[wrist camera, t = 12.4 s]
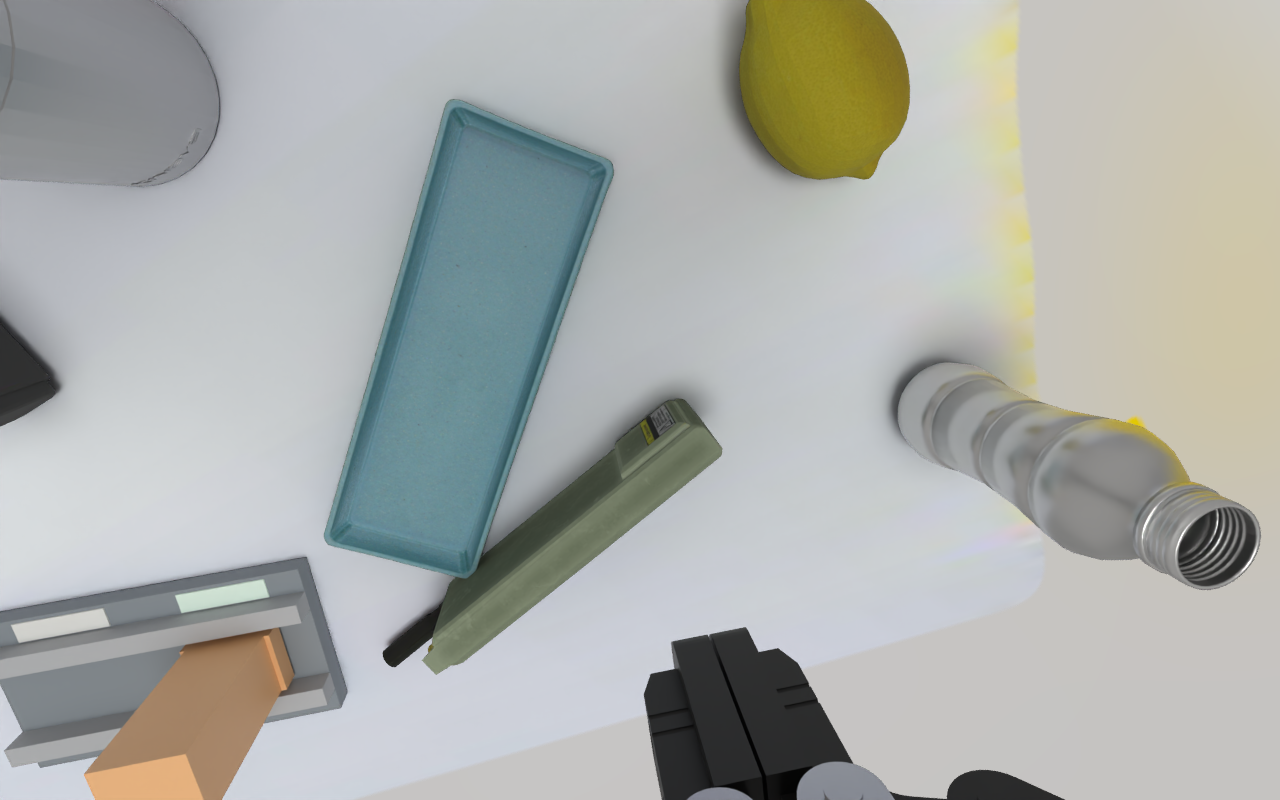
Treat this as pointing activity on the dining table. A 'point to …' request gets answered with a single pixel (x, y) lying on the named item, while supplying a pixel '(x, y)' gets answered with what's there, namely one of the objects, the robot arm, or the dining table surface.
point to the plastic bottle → (1079, 476)
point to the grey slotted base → (152, 653)
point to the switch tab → (196, 722)
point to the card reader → (20, 380)
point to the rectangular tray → (465, 339)
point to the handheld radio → (564, 535)
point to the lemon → (823, 84)
